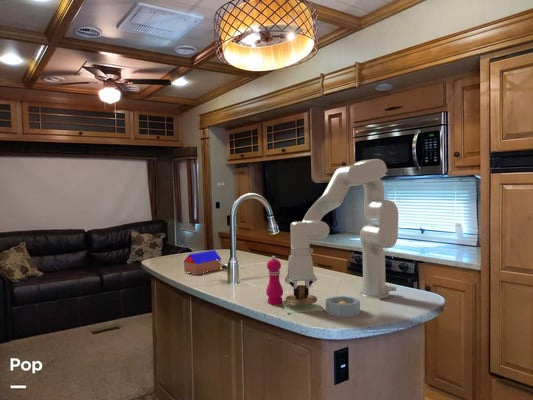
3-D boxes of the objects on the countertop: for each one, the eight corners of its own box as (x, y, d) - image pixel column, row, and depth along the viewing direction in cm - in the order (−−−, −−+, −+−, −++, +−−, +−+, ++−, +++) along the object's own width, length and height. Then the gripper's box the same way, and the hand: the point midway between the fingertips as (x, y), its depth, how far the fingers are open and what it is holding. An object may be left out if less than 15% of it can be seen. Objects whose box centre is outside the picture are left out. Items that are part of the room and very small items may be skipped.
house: (221, 269, 241) (221, 250, 241) (196, 275, 226) (195, 255, 226) (208, 267, 249) (208, 249, 249) (183, 273, 234) (182, 253, 234)
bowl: (352, 307, 156) (352, 295, 156) (363, 317, 144) (363, 303, 144) (323, 309, 155) (323, 296, 154) (331, 319, 143) (331, 305, 143)
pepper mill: (273, 306, 161) (272, 258, 161) (263, 302, 167) (261, 255, 167) (286, 302, 166) (285, 255, 165) (276, 299, 171) (275, 253, 171)
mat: (314, 301, 165) (314, 300, 165) (323, 311, 152) (323, 310, 151) (282, 303, 164) (282, 302, 164) (287, 314, 150) (287, 312, 150)
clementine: (346, 309, 151) (346, 299, 151) (349, 312, 148) (349, 302, 147) (336, 310, 151) (336, 300, 151) (339, 313, 147) (339, 303, 147)
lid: (313, 295, 164) (312, 281, 164) (320, 303, 152) (320, 288, 152) (283, 296, 163) (283, 283, 163) (288, 305, 151) (288, 290, 150)
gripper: (317, 250, 162) (318, 294, 162) (278, 251, 160) (279, 296, 160) (322, 252, 154) (323, 298, 155) (281, 254, 153) (282, 301, 153)
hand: (301, 297), depth 158 cm, fingers closed on lid, 3 cm apart
